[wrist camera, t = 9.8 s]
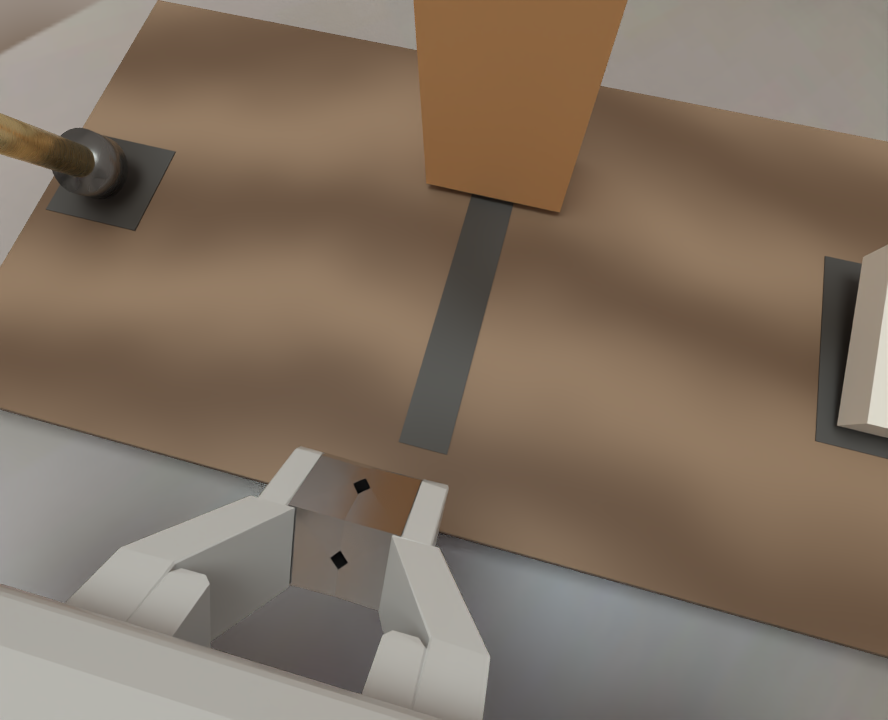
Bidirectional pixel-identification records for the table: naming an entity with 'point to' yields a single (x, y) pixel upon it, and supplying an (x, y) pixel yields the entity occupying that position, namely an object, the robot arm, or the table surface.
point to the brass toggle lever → (68, 156)
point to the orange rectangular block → (510, 92)
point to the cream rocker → (868, 352)
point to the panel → (477, 317)
